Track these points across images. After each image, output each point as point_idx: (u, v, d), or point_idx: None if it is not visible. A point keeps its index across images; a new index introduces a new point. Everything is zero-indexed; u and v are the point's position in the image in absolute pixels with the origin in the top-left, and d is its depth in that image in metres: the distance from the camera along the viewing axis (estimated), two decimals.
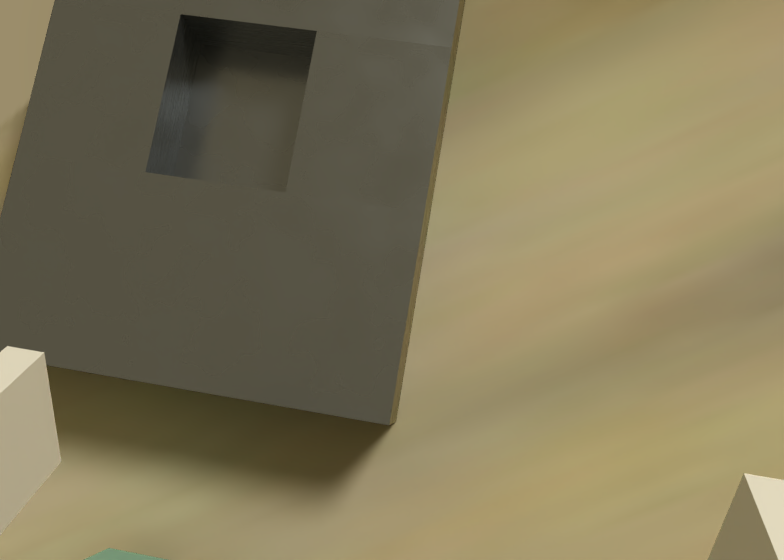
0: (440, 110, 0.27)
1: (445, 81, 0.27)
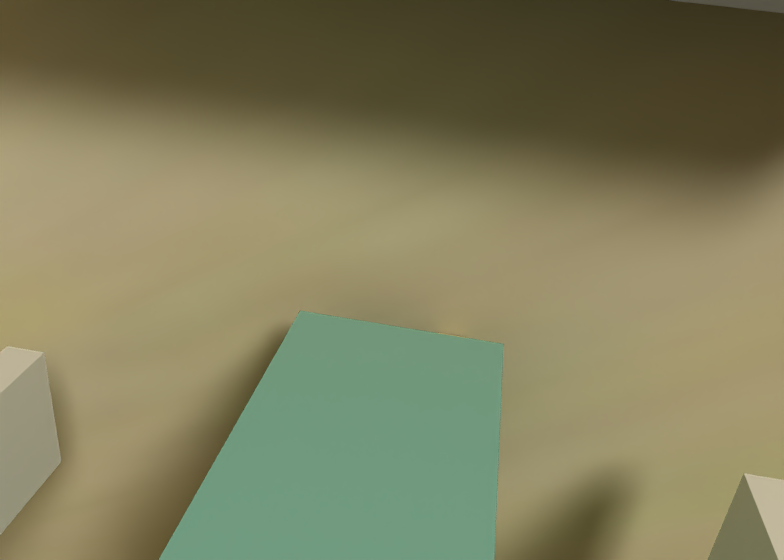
0: None
1: None
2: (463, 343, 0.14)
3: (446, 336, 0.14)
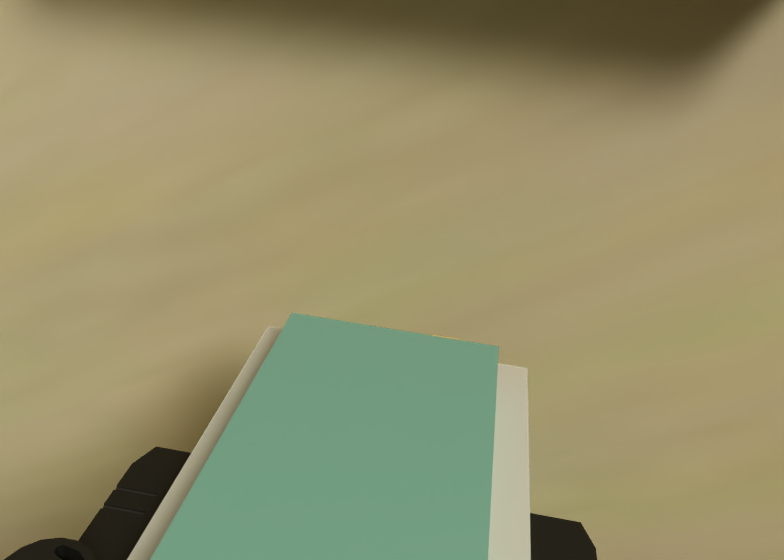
0: None
1: None
2: (458, 346, 0.13)
3: (440, 339, 0.14)
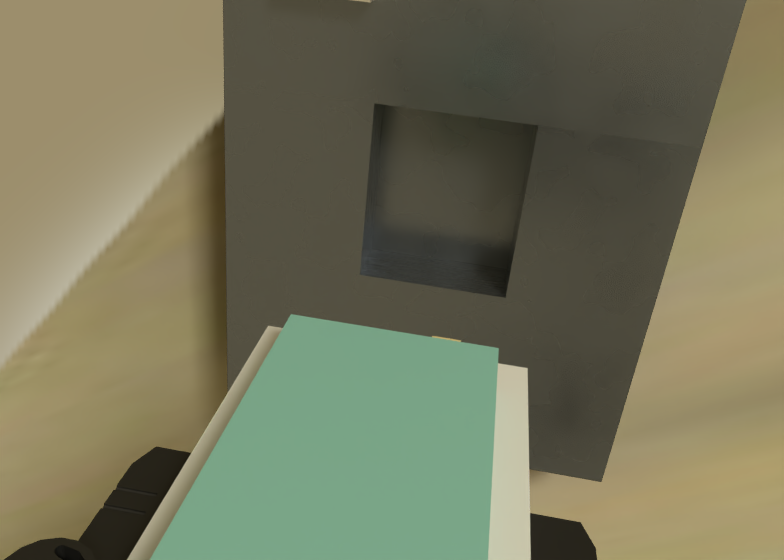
0: (679, 219, 0.25)
1: (688, 185, 0.24)
2: (457, 347, 0.13)
3: (440, 340, 0.14)
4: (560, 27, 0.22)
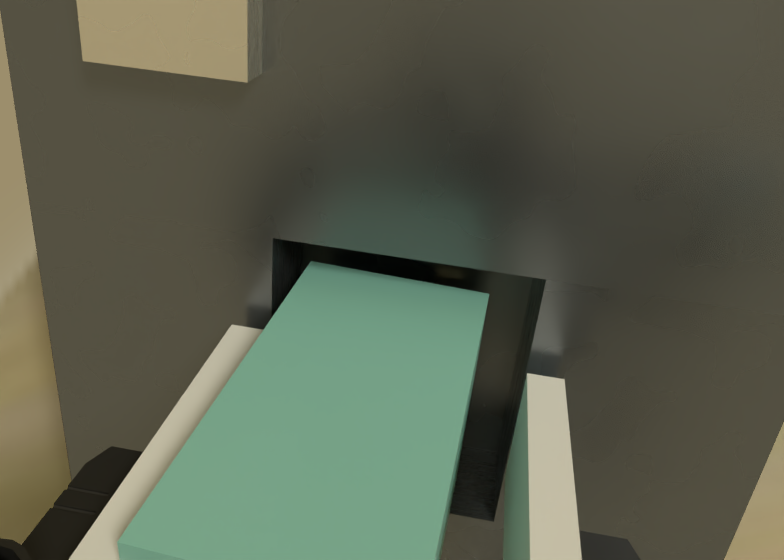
0: (779, 427, 0.15)
1: None
2: (453, 292, 0.15)
3: (438, 286, 0.16)
4: (584, 124, 0.13)
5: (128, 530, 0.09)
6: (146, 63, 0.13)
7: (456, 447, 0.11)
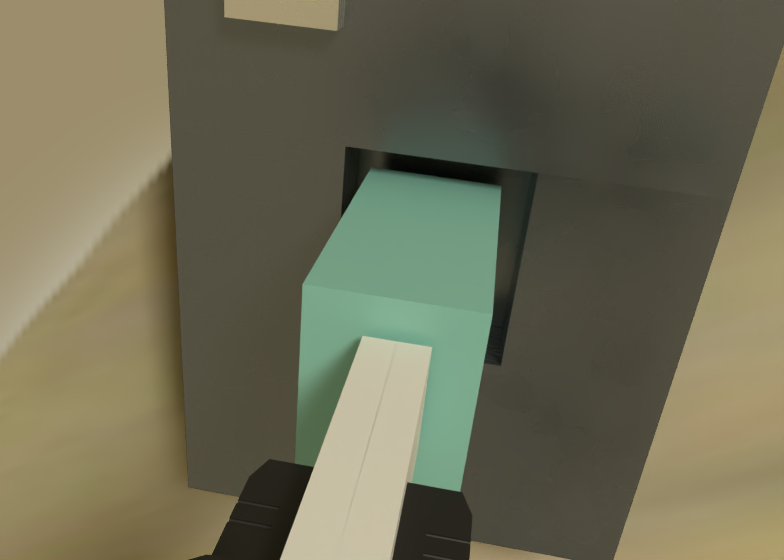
0: (703, 281, 0.21)
1: (715, 243, 0.20)
2: (476, 184, 0.22)
3: (465, 181, 0.22)
4: (563, 59, 0.19)
5: (307, 280, 0.15)
6: (268, 18, 0.19)
7: (496, 252, 0.18)
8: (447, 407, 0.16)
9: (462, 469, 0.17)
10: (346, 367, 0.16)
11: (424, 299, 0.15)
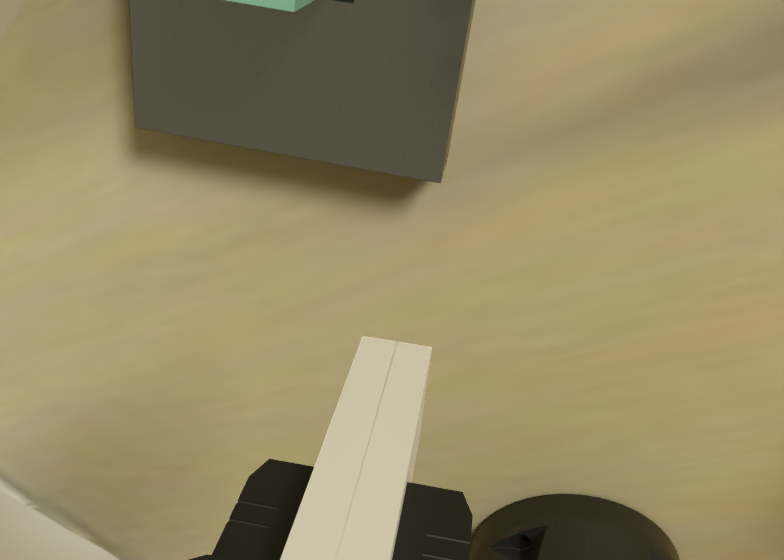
0: None
1: None
2: None
3: None
4: None
5: None
6: None
7: None
8: None
9: None
10: None
11: None
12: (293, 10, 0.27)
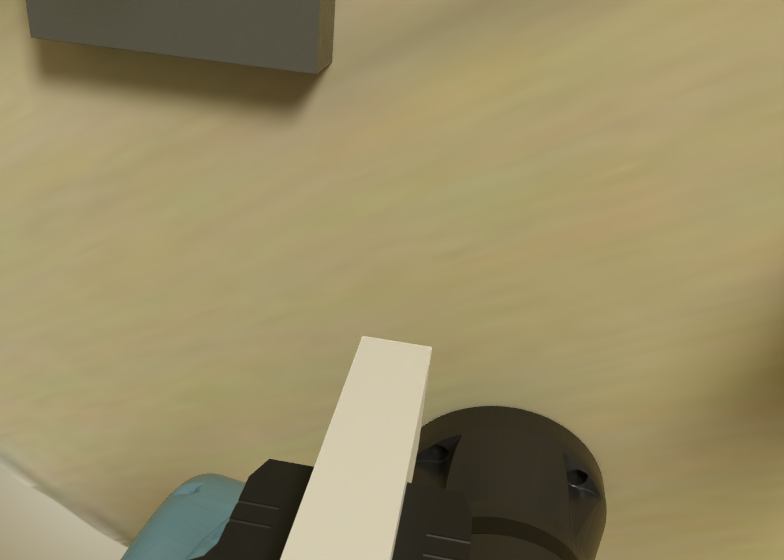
0: None
1: None
2: None
3: None
4: None
5: None
6: None
7: None
8: None
9: None
10: None
11: None
12: None
